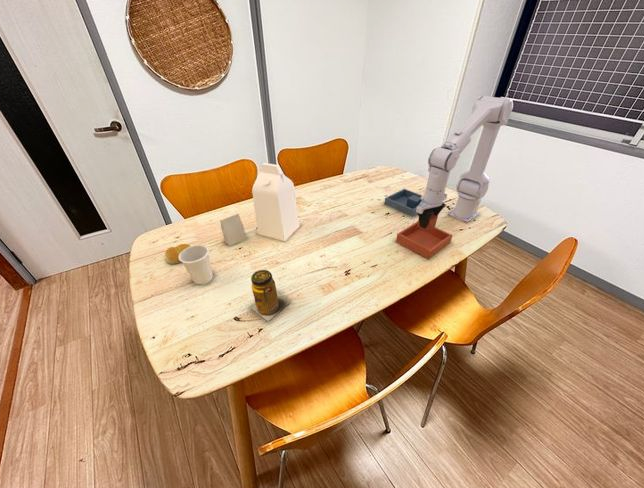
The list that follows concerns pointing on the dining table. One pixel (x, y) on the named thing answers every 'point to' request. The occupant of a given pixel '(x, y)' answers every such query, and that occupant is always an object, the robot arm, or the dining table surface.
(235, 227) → the grey wedge block
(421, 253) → the terracotta bin
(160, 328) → the dining table surface
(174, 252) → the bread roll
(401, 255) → the dining table surface
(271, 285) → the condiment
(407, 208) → the slate bin
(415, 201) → the slate block
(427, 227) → the terracotta block
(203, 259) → the dixie cup
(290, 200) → the milk
